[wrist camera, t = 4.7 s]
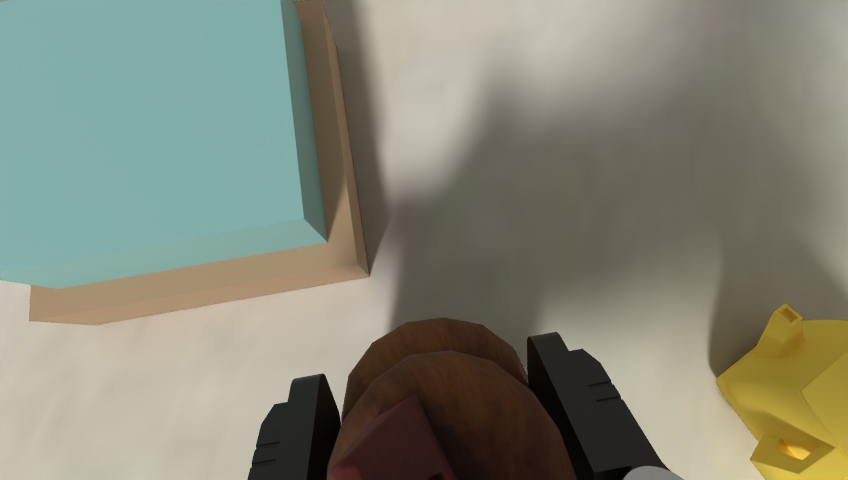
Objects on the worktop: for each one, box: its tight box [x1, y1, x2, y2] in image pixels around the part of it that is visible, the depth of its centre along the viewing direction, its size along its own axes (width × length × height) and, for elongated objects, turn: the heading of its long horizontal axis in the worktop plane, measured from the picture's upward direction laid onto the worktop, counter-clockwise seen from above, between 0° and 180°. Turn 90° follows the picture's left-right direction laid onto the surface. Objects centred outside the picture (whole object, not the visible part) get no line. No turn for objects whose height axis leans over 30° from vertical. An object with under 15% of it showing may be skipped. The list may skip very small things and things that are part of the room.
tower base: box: [0, 0, 369, 325], centre depth 17 cm, size 12×12×6 cm
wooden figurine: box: [327, 318, 577, 480], centre depth 10 cm, size 7×6×15 cm
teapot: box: [716, 303, 848, 480], centre depth 15 cm, size 8×6×5 cm
